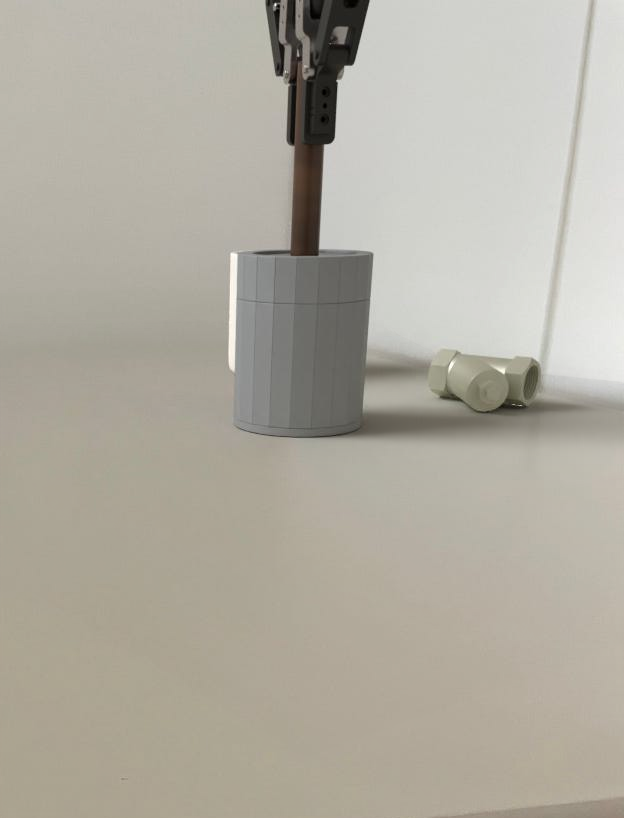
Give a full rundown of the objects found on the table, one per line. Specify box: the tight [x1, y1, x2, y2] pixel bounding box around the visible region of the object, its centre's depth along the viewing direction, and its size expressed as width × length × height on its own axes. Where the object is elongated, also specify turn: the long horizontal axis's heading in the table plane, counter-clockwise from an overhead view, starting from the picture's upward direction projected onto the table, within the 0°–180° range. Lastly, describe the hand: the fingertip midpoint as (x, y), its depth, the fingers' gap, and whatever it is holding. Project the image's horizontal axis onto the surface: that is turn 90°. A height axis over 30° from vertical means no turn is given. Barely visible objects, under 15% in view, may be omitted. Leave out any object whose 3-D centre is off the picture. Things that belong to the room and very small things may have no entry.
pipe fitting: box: [427, 348, 542, 413], centre depth 85 cm, size 8×4×7 cm
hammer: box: [271, 61, 339, 256], centre depth 74 cm, size 4×4×16 cm
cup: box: [233, 248, 375, 438], centre depth 78 cm, size 9×9×12 cm
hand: (309, 143), depth 73 cm, fingers closed on hammer, 2 cm apart
